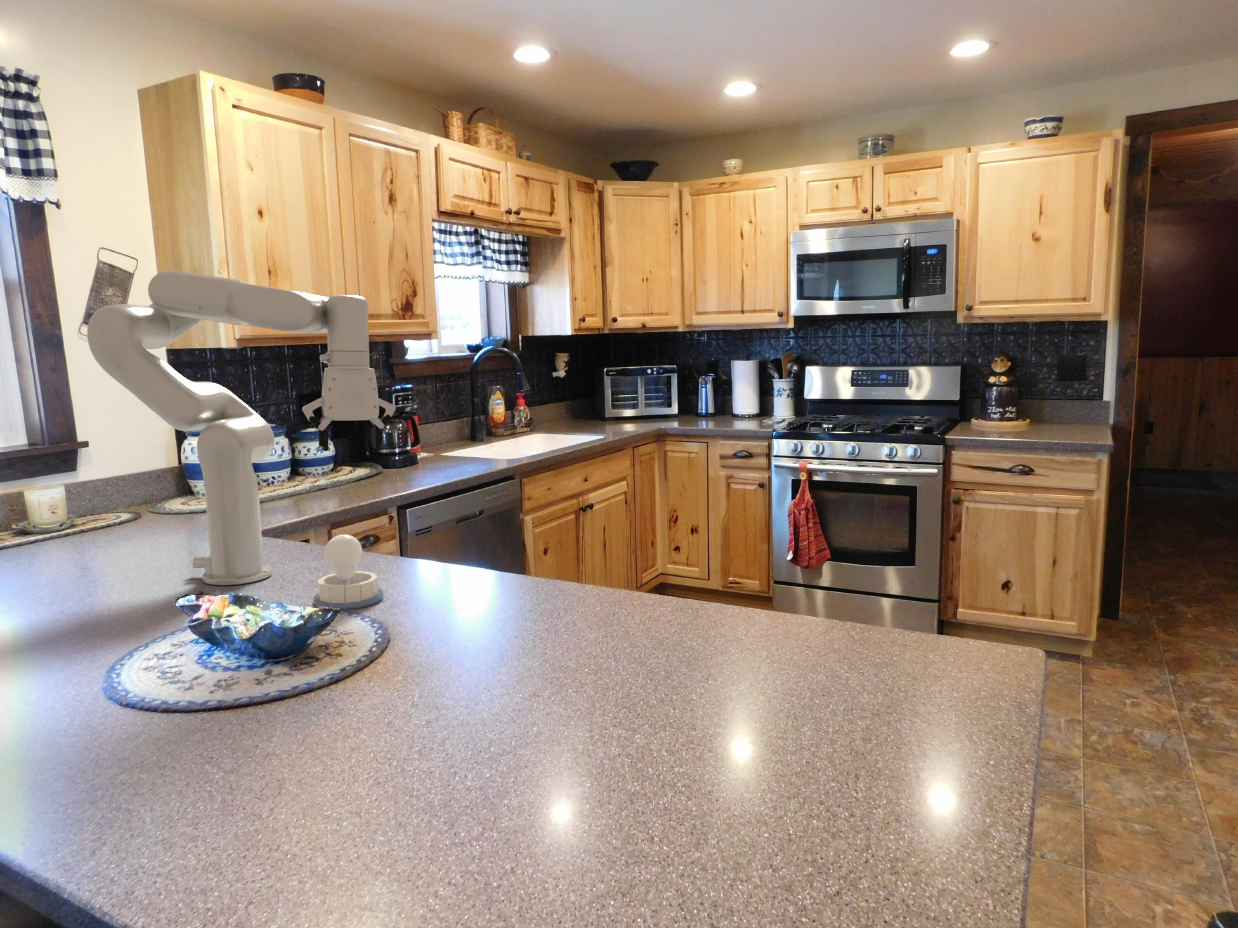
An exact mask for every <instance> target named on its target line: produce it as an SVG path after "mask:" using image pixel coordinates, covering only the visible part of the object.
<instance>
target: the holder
mask: <svg viewBox="0 0 1238 928" xmlns="http://www.w3.org/2000/svg"><path fill="white" fill-rule="evenodd" d="M353 578H354V584H348V585H339V584H338V583H339V582H338V579H337V577H336V575H335V572H334V573H331V574H328V575H324V576H323V577H320V578H319V579H318V580H317V591H318V593H316V594H315V595H314V596H313V602H312V603H313V606H325V607H332V608H339V609H340V610H339V611H350V610H359V609H364V608H368V607H370V606H374V605H376V604H378V603H380V602H382V600H383V599H384V590H383V589H381V588H380V587H379V582H378V581H379V579H378V575H377V574H376V573H375V572H371V571H359V570H358V571H356V570H355V575H354V577H353Z"/></svg>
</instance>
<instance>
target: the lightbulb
mask: <svg viewBox="0 0 1238 928" xmlns="http://www.w3.org/2000/svg"><path fill="white" fill-rule="evenodd" d="M362 555H363V548H362V544H361V542H360V541H359V540H358V539H357V538H356V537H354V536H353V535H351V534H347V533H345V534H338V535H335V536H334V537H332V538H331V539H329V540H328V542H327V544H326V546H325V548H324V557H325V560H326V561H327V564H328V565H329V566H330V567H331V568H332V570H333V571H334V573H335V575H336V577H337V579H338V582H339V583H338V584H339V585H348V584H354V578H353V577H354V575H355V571H356V569H357V567H358V564H359V563H360V561H361V559H362Z"/></svg>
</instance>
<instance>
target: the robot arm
mask: <svg viewBox="0 0 1238 928" xmlns="http://www.w3.org/2000/svg"><path fill="white" fill-rule="evenodd" d="M147 295H148V297H149V299H150V302H151V304H149V305H136V304H130V303H129V304H128V303H117V304H108V305H105V306H102V307H100V308H98V309H97V310H96V311H95V312H94V313H93V314H92V315H91V317H90V318H89V321H88V325H87V330H86V331H87V332H86V333H87V335H86V336H87V343H88V346H89V350H90V352H91V355H92V357H93V358H94V360H95V361H96V363H97V364H98V365H99V367H100V368H102V369H103V371H104V372H105V373H106V374H108V375H109V376H110V377H111V378H112V379H113V380H115V381H116V382H117V383H119V384H120V385H121V386H122V387H124V388H125V389H126V390H127V391H129V392H130V394H133V395H134V396H135V397H136V398H137V399H138V400H139V401H140V402H142V404H144V405H145V406H147V408H149V409H150V410H151V411H152V412H154V414H156V415H158V416H159V418H161V419H162V420H164V422H165V423H167V424H168V425H169V426H171V427H172V428H173V429H175V430H178V431H183V432H191V431H198V430H201V431H200V433H199V436H198V437H197V441H196V442H197V443H196V454H197V457H198V461H199V465H200V468H201V473H202V477H203V486H204V495H205V496H204V498H205V506H206V520H207V533H208V534H207V535H208V546H209V555H208V556H194V558H193V559H192V560H193V562H192V568H194V569H201V568H202V569H204V570H205V572H204V573H203V574H202V581H203V582H204V583H205V584H208V585H212V586H232V585H233V586H234V585H244V584H248V583H254V582H259V581H262V580H264V579H266V578H267V579H268V578H269V577H270V576H272V574H273V567H271V566H270V565H267V564H265V563H264V555H263V554H264V553H263V551H264V550H263V537H262V524H261V523H262V522H261V520H262V519H261V509H260V508H261V507H260V495H259V492H260V491H259V484H258V480H257V476H256V473H255V470H254V467H253V463H256V462H258V461H260V460H263V459H265V458H266V457H268V456H269V454H271V452H272V451H273V449H274V446H275V434H274V431H273V429H272V428H271V426H270V425H269V423H268V422H267V421H266V420H265V419H264V418H263V417H261V415H259V414H258V413H257V412H256V411H255V410H253V409H252V408H251V407H250V406H249V405H247V404H246V403H245V402H243V400H241V399H240V398H239V397H238V396H237V395H235V394H234V393H233V392H232V391H230V390H229V389H228V388H225V386H224V387H223V386H222V385H221V384H218V383H216V382H211V381H192V380H189V379H188V378H186V377H184V376H183V375H182V374H181V373H179V372H178V371H177V370H175V369H174V368H173V366H171V365H170V364H169V363H168V362H167V361H164V360H163V359H162V358H161V357H158V356H156V355H155V354H153V353H152V352H150V351H148V350H156V349H162V348H164V347H167V346H169V345H171V344H172V343H174V342H175V341H177V340H178V339H179V338H181V337H182V336H183V335H186V334H187V333H188V332H189V331H191V330H192V329H193V328H195V327H196V326H197V325H199V324H200V323H202V322H203V321H204V320H205V321H210V322H216V323H222V324H227V325H234V326H239V325H240V326H243V325H244V326H249V327H255V328H261V329H268V330H274V331H279V332H286V333H294V334H307V335H317V334H327V351H326V353H324V354H320V355H319V360H320V361H319V362H323V363H326V364H327V366H328V367H325V368H324V372H323V378H322V385H321V397H320V398H317V399H316V400H314V401H312V402H310V403H308V404H306V405H303V407H302V409H301V410H302V412H303V413H304V415H305V417H306V418H307V420H308V422H310V424H312V425H313V426H314V427H315V428H316V429H317V432H318V433H317V434H318V447H319V448H320V447H321V451H323V452H328V451H329V449H330V447H329V445H330V444H329V430H328V429H327V427H328V426H329V424H331V422H332V421H370V422H371V424H372V425H373V428H372V429H371V431H372V433H371V435H372V436H371V437H372V448H374V449H376V450H380V449H381V445H383V429H384V428H385V426H386V425H387V424H388V423H389V422H390V421H391V420H392V417H393V415H394V413H395V412H396V406H395V405H394V404H392V403H390V402H389V401H386V400H383V399H382V398H380V397H379V391H378V384H377V378H376V377H377V376H376V372H375V368H370V345H369V344H370V342H369V341H370V340H369V338H370V336H369V334H370V333H369V306H368V305H369V304H368V301H367V299H366V298H365V297H363V296H361V295H360V296H359V295H351V294H336V295H331V296H323V295H318V294H311V293H308V292H304V291H303V292H301V291H296V290H290V289H289V290H288V289H281V288H275V287H269V286H268V287H267V286H264V285H263V286H261V285H255V284H250V283H246V282H244V281H242V280H240V279H235V278H228V277H220V276H215V275H207V274H202V273H201V274H200V273H196V272H195V273H194V272H189V271H182V270H177V269H176V270H175V269H172V270H171V269H170V270H163V271H160V272H159V273H156V274H155V275H154V276H153V277H152V278H151V279H150V281H149V283H148V286H147ZM319 407H321V414H322V417H321V419H320V420H319V419H318V418H317V417H315V415H314V413H313V411H315V410H316V409H318V408H319ZM380 407H382V408H384V409H385V412H384V414H383V415H382V416H381V418H379V415H380Z"/></svg>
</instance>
